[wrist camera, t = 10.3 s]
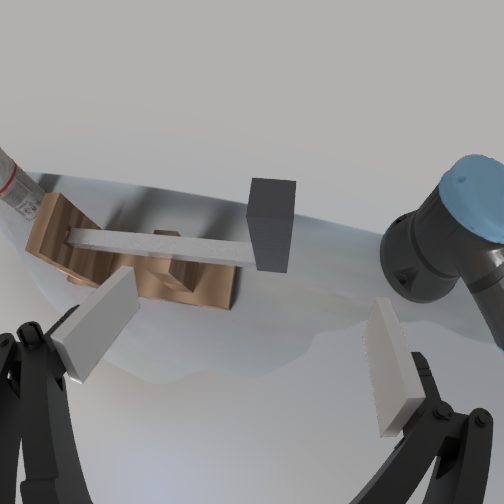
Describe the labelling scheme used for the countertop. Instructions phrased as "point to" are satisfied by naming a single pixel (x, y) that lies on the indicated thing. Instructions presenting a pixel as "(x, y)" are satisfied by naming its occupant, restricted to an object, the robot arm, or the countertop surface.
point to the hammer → (216, 251)
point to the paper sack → (19, 188)
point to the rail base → (125, 261)
